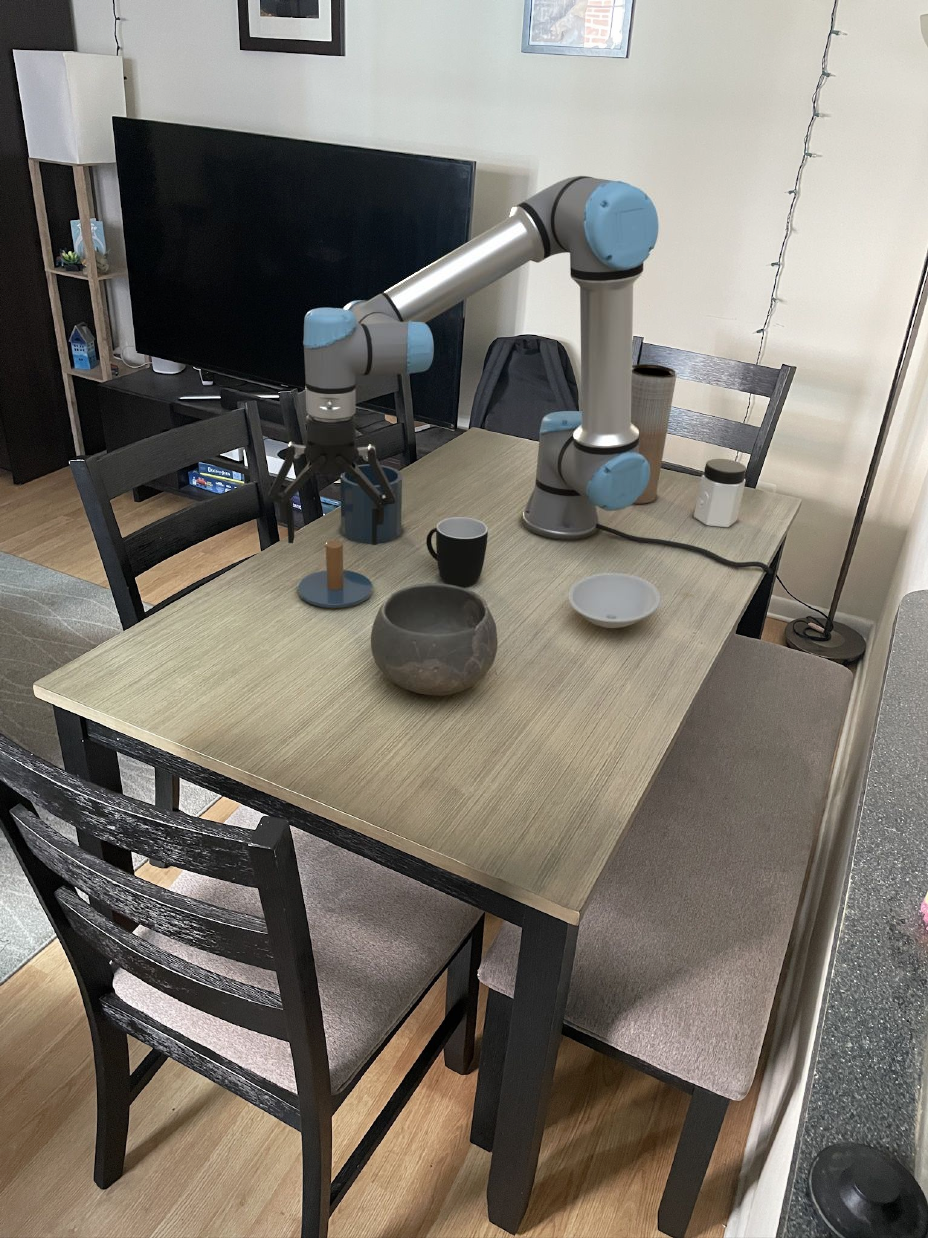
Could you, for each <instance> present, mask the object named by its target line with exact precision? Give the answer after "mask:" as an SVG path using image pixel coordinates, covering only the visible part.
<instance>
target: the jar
mask: <svg viewBox="0 0 928 1238" xmlns="http://www.w3.org/2000/svg"><path fill="white" fill-rule="evenodd" d="M703 471H704V472H703V474H702V475H701V478H700V483H699V488H698V493H697V498H696V503H695V508H694V513H693V517H694V518H695V519H696V520H698V521H700V522H701V523H702V524H704V525H705V526H710V527H719V528H720V527H722V528H730V527H731V526H732V525H733V524H735V523H736V522H737V521H738V516H739V512H740V508H741V505H742V499H743V495H744V491H745V485H746V482H747V481H746V478H745V477H746V473H747V467H746V465H744V464H743V463H741V462H739V461H736V460H733V459H729V458H728V459H726V458H713V459H710V460H707V461H706V463H705V466H704V470H703Z"/></svg>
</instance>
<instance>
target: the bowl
mask: <svg viewBox="0 0 928 1238" xmlns="http://www.w3.org/2000/svg"><path fill="white" fill-rule="evenodd" d="M374 618H375V619H374V620H373V624H372V627H371V632H370V649H371V654H372V658H373V660H374V663H375V664H376V666H377V668H378V669H379V671H380V672H381V674H382V675H384V677H386V678H387V680H389V681H390V682H391V683H393V684H394V685H396V686H397V687H400V688H402V689H404V690H407V691H410V692H413V693H416V694H421V695H427V696H449V695H454V694H457V693H460V692H462V691H465V690H467V689H469V688H471V687H473V686H474V685H476V684H477V683H479V682H480V681H481V680H482V679H483V678H484V677H485V676H486V675H487V674H488V672H489V671H490V669H491V668H492V666H493V664H494V662H495V659H496V656H497V652H498V646H499V645H498V644H499V641H498V633H497V625H496V621H495V619H494V616H493V615H492V613H491V611H490V609H489V606H488V604H487V602H486V600H485V599H484V598H483V597H481V596H480V595H479V594H478V593H476V592H475V591H472V590H470V589H467V588H466V587H459V586H454V585H449V584H446V583H440V582H438V583H437V582H435V583H434V582H426V583H419V584H414V585H408V586H406V587H403V588H401V589H398V590H397V591H395V592H393V593H392V594H390V595H389V596H388V597H387V598H386V599H385V600H384V601H383V603H382V604H381V605H380V607H379V609H378V611H377V613H376V616H375V617H374Z"/></svg>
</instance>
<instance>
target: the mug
mask: <svg viewBox="0 0 928 1238" xmlns="http://www.w3.org/2000/svg"><path fill="white" fill-rule="evenodd" d="M434 534H435V548H436V549H434V547H433V543H432V538H433V535H434ZM488 537H489V528H488V526H487V525H486V523H484V522H483V521H481V520H479V519H476V518H471V517H464V516H455V517H448V518H445V519H442V520H440V521H439V522H438V523H437V524H436V527H434V528H432V529H430V531H429V532H428V534H427V535H426V540H425V542H426V544H425V545H426V549H427V551H428V553H429V554H430V557H432V558H433V560H435V561H436V562H437V568H438V573H439V577H440V579H441V580H442V582H443V583H444V584H449V585H454V586H459V587H462V588H468V587H471V586H473V585H475V584H476V583H477V582H478V581H479V578H480V577H481V574H482V571H483V567H484V563H485V558H486V551H487V545H488Z"/></svg>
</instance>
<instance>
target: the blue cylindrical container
mask: <svg viewBox="0 0 928 1238" xmlns="http://www.w3.org/2000/svg"><path fill="white" fill-rule="evenodd" d="M356 465H357V466H358V468H359V469H360V470H361V472H362V473H363V474H364V475H365V476H366V477H367V478H368V480H369V481H370V482H371V483H372V484H373V485H374V486H375V488H376V489H377V490H378V491H379V492H380V493H381V494H382V496H383V495H384V493H383V491H382V489H381V487H380V485H379V483H378V481H377V480H376V478H375V476H374V474H373V472H372V470H371V468H370V465H369V463H364V464H356ZM380 465H381V467H382V469H383V471H384V473H385V475H386V477H387V479H388V481H389V483H390V485H391V487H392V489H393V491H394V493H395V503H394V504H388V505H386V506H385V507H384V523H383V525H377V544H381V543H386V542H390V541H394V540H395V539H396V538H398V537H399V536H400V535H401V533H402V506H403V504H402V503H403V502H402V501H403V473H401V471H399V470H398V469H396V468H394V467H391V466H389V465H382V464H380ZM339 480H340V483H339V484H340V485H339V486H340V488H339V489H340V528H341V534H342V535H343V536H344V537H345V538H347V539H349V540H350V541H354V542H358V543H363V544H372V503H373V501H372V500H371V499H370V498H369V496H368V495H367V494H366V493H365V492H364V491H363V490H362V489H361V487H360V486H359V485H358V484H357V483H356V482H355V481H354V479H352V478H351V477H350V476H349V475H348V474H347V473H346V472H345V473H343V474H342V475H339Z"/></svg>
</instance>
